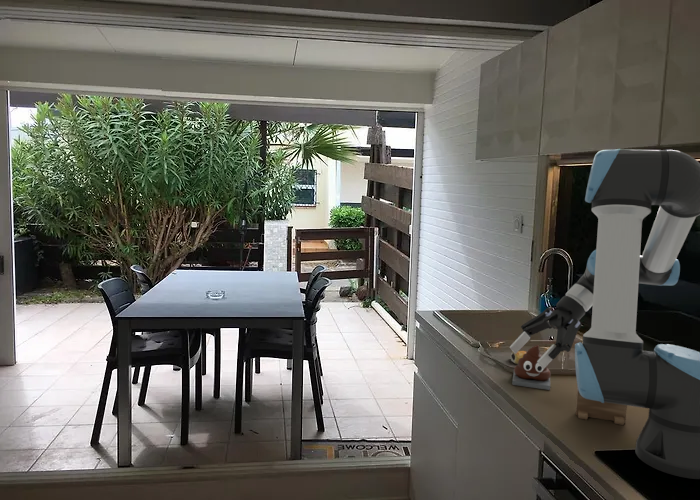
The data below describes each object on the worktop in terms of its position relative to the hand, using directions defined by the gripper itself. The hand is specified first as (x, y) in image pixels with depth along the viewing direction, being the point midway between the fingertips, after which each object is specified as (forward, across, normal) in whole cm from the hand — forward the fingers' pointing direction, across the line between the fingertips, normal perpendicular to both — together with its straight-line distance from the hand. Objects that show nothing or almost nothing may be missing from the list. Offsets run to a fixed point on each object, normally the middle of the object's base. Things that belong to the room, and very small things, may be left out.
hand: (525, 357), depth 160 cm
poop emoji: (+2, 0, -6) cm, 7 cm away
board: (+3, 0, -7) cm, 8 cm away
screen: (+2, -26, -8) cm, 27 cm away
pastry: (-2, +16, -13) cm, 21 cm away
